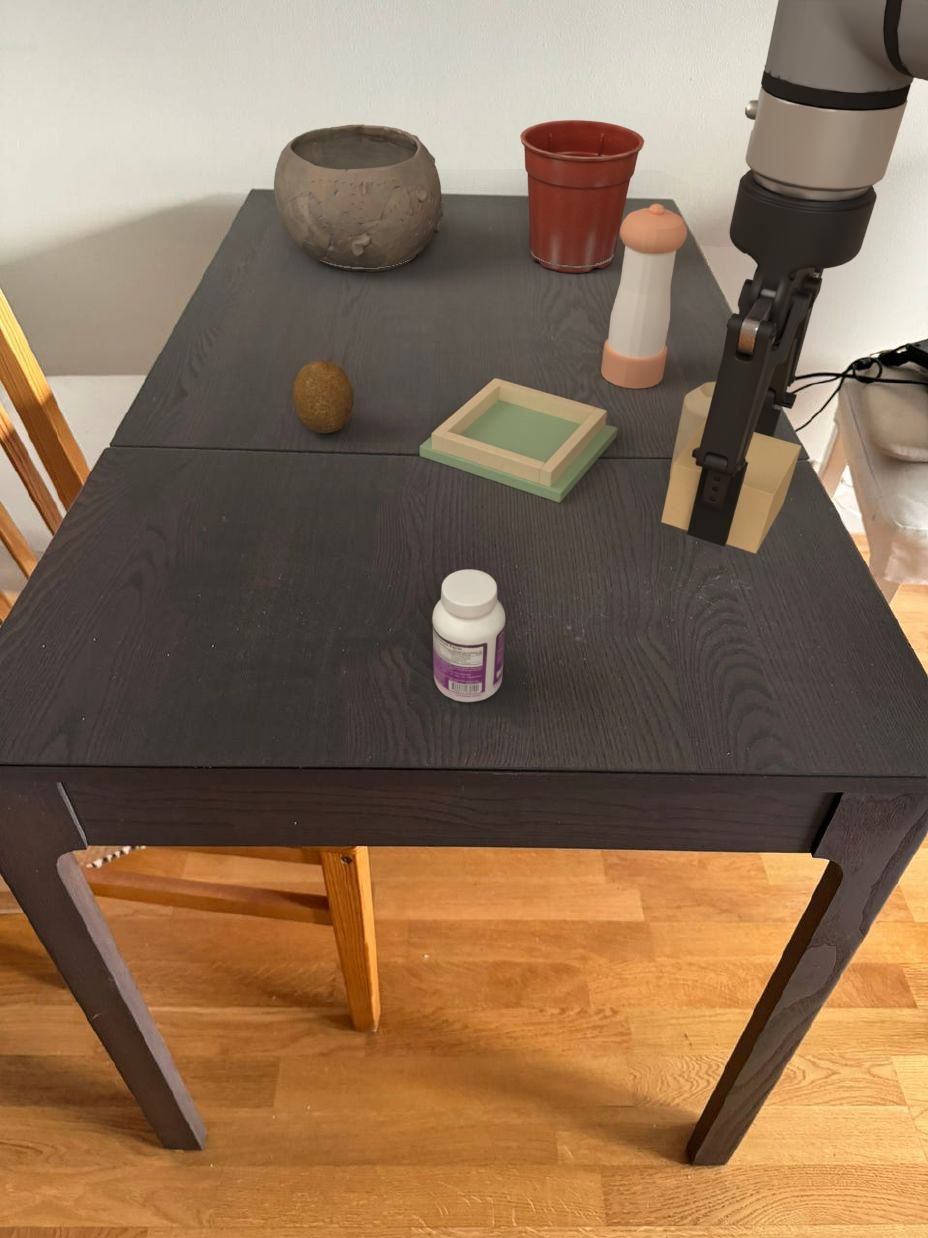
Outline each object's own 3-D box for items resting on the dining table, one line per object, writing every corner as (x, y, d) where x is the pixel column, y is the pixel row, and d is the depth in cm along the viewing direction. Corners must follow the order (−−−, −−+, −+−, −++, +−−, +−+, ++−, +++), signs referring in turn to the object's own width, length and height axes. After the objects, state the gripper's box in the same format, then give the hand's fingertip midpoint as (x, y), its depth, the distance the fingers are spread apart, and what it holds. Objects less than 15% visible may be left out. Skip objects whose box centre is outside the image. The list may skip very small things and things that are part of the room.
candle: (729, 494, 91) (752, 404, 84) (673, 493, 91) (692, 402, 84) (719, 463, 95) (740, 374, 88) (665, 462, 95) (682, 373, 88)
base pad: (616, 437, 99) (620, 412, 97) (559, 503, 90) (562, 477, 88) (485, 397, 104) (485, 373, 102) (419, 456, 95) (418, 430, 93)
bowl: (257, 276, 128) (241, 160, 118) (312, 218, 144) (302, 112, 134) (418, 294, 125) (416, 175, 114) (457, 232, 141) (458, 124, 131)
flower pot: (555, 289, 126) (566, 163, 115) (492, 248, 137) (497, 129, 126) (651, 266, 133) (669, 145, 122) (584, 229, 143) (595, 114, 132)
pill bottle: (468, 645, 75) (470, 552, 68) (516, 680, 72) (523, 586, 66) (418, 679, 72) (416, 585, 66) (466, 716, 69) (469, 622, 63)
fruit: (342, 451, 96) (336, 381, 90) (287, 441, 97) (278, 371, 92) (364, 421, 100) (360, 352, 95) (311, 412, 102) (304, 343, 96)
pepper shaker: (675, 379, 108) (707, 209, 95) (626, 394, 105) (652, 222, 92) (636, 353, 113) (661, 188, 100) (588, 367, 110) (607, 199, 97)
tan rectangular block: (783, 503, 69) (801, 445, 65) (755, 554, 64) (774, 495, 61) (693, 475, 71) (706, 417, 68) (660, 522, 67) (673, 463, 63)
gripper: (791, 123, 60) (718, 433, 75) (685, 218, 47) (623, 567, 63) (912, 142, 57) (810, 459, 73) (835, 249, 44) (731, 606, 60)
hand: (724, 509), depth 68 cm, fingers closed on tan rectangular block, 7 cm apart
